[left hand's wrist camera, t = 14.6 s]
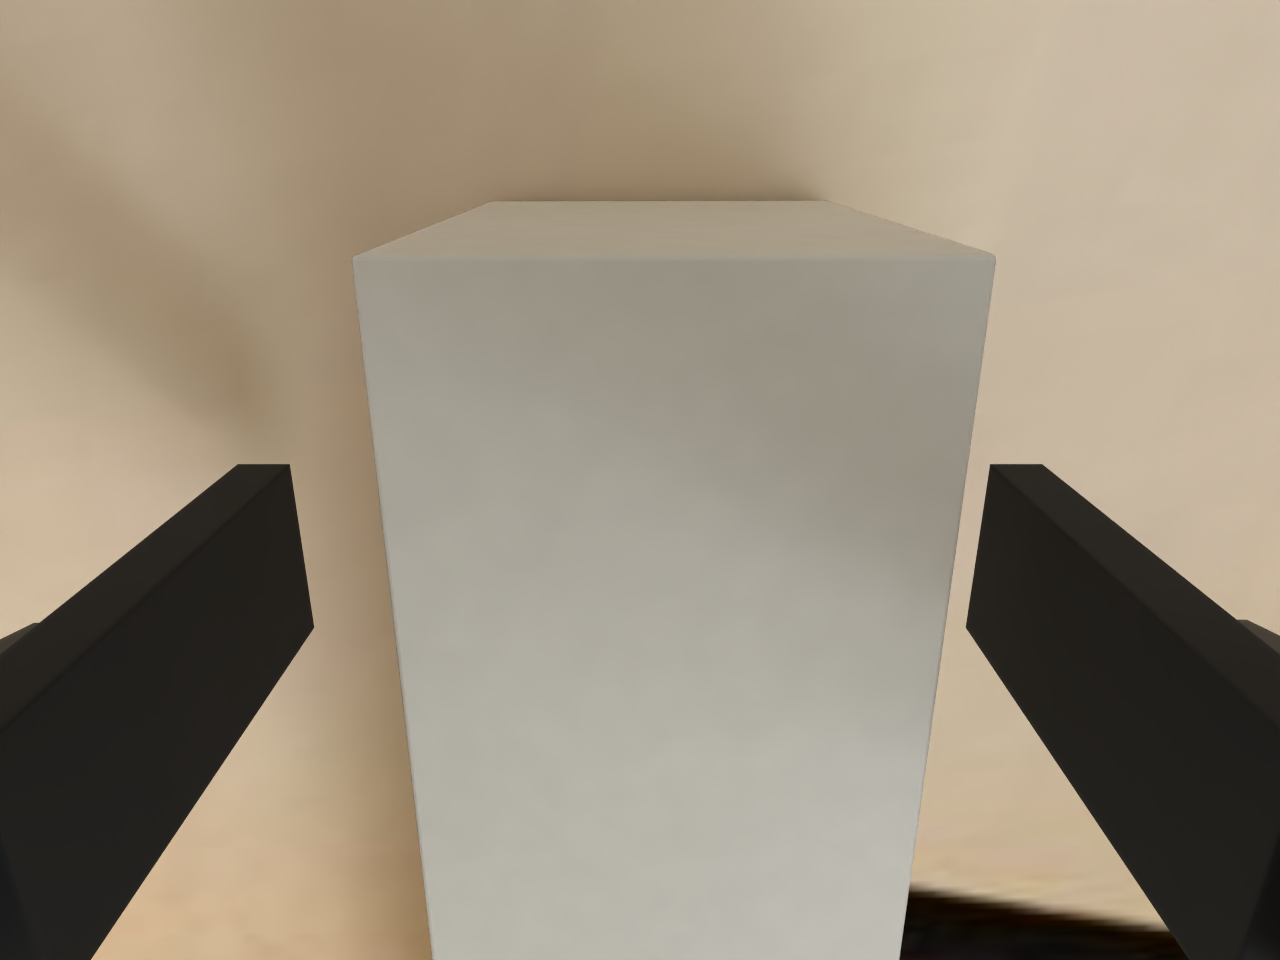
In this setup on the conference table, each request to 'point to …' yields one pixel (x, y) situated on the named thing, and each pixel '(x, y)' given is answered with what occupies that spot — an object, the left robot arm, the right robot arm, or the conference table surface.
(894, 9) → the conference table surface
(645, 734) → the beam
